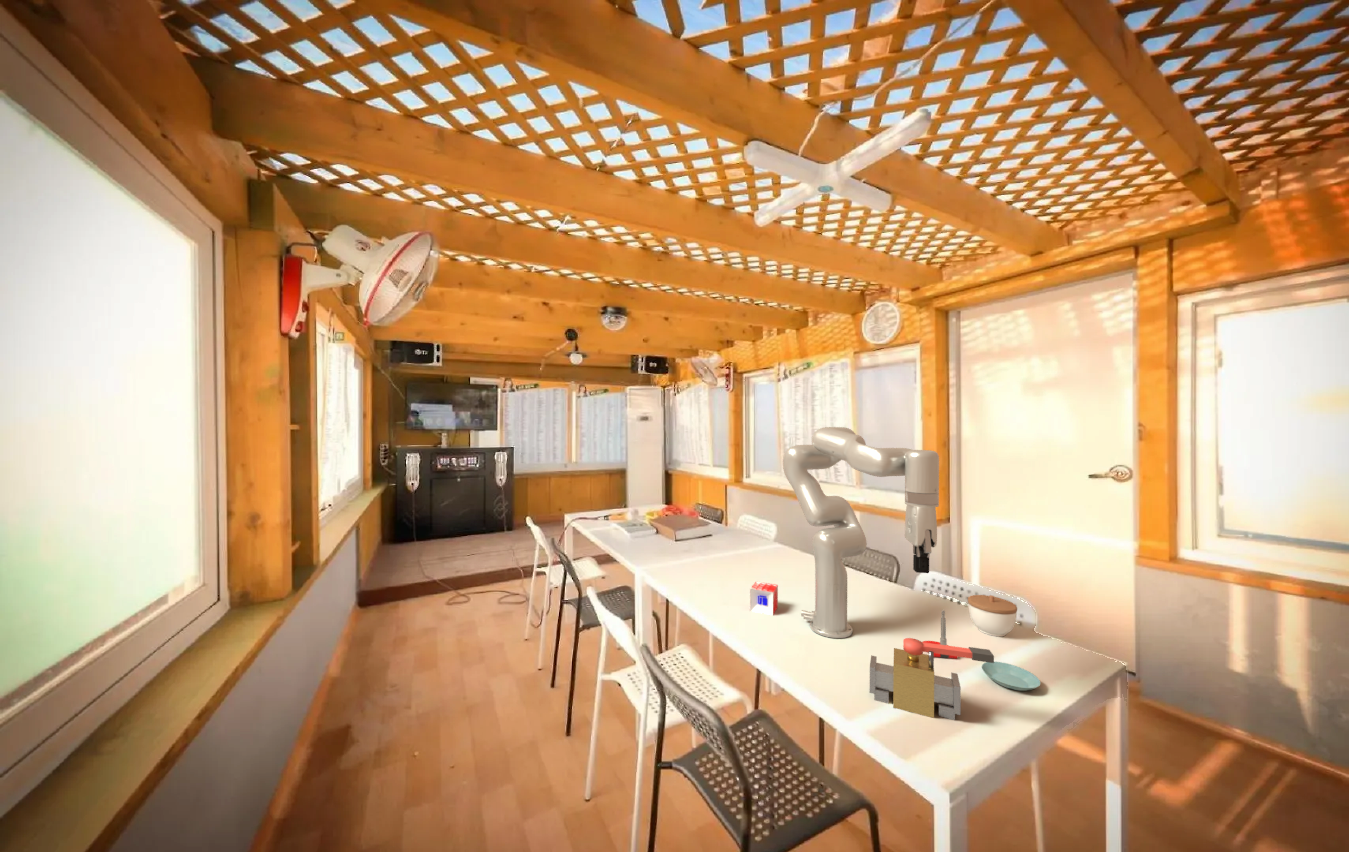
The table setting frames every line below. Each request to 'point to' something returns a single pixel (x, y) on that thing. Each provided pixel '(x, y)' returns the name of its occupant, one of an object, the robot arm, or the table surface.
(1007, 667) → the saucer
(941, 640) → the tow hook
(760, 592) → the white and red cube
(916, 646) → the lever
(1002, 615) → the lidded bowl
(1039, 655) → the table surface
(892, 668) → the valve body
